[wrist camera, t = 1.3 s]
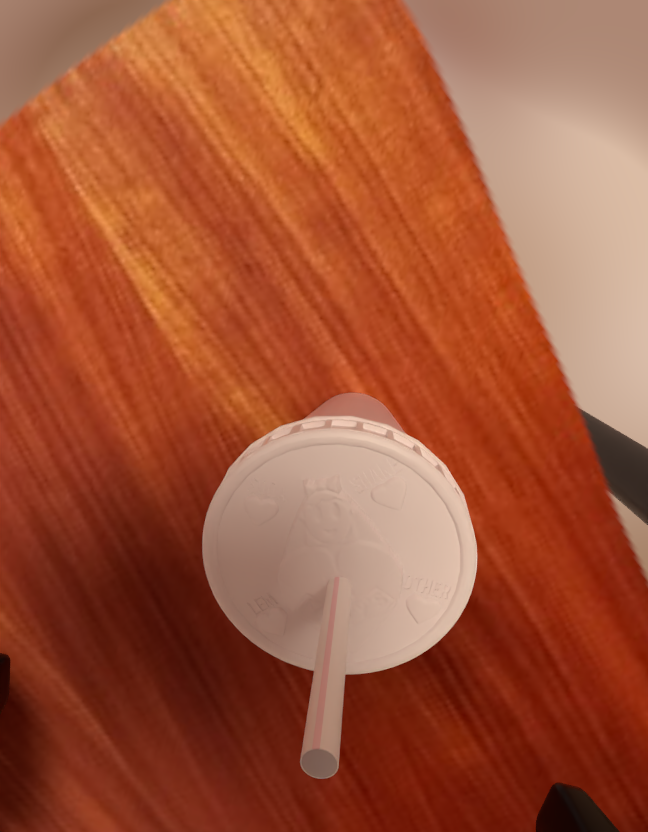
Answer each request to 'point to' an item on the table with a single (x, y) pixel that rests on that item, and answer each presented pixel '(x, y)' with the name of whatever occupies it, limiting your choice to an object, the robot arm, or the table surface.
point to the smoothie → (339, 552)
